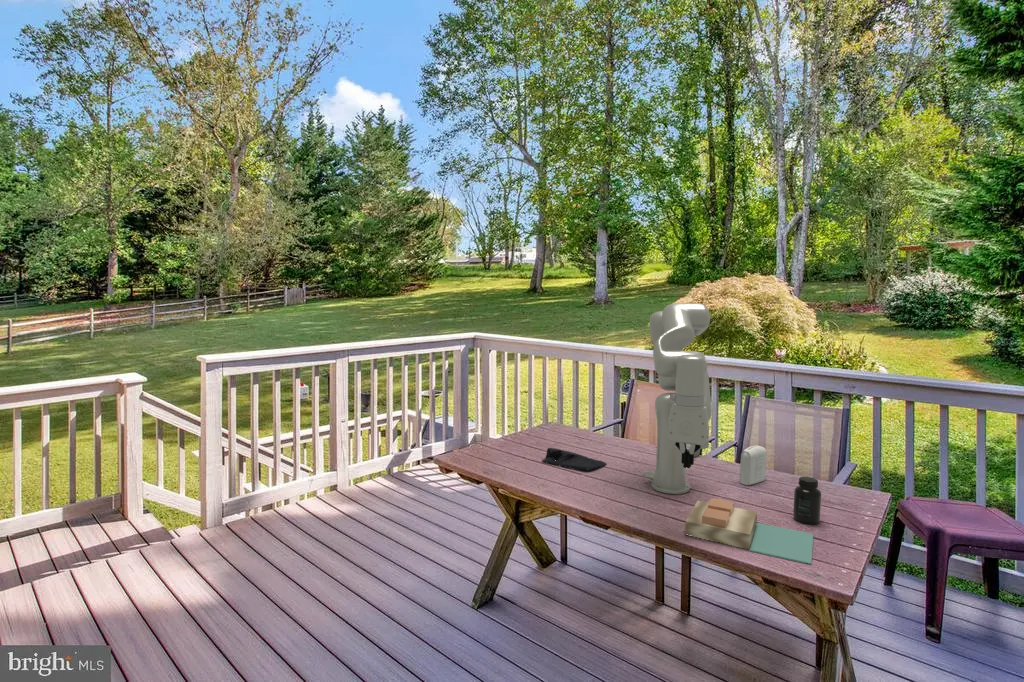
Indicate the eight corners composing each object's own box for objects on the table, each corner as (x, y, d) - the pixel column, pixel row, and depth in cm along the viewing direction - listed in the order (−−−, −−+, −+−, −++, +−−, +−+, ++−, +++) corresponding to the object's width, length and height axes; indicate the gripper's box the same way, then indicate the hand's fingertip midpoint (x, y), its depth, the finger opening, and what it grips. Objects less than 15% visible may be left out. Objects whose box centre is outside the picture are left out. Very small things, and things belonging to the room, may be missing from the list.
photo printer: (755, 476, 195) (757, 442, 194) (767, 480, 192) (769, 445, 190) (737, 482, 190) (739, 447, 188) (748, 486, 186) (750, 450, 185)
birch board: (685, 535, 151) (685, 521, 150) (697, 513, 165) (697, 500, 164) (749, 549, 143) (750, 534, 143) (756, 525, 157) (757, 511, 157)
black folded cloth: (585, 476, 197) (586, 463, 197) (538, 462, 212) (538, 450, 211) (610, 465, 208) (610, 453, 208) (563, 453, 223) (563, 441, 223)
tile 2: (701, 522, 149) (702, 515, 149) (706, 514, 155) (706, 507, 154) (725, 527, 146) (726, 520, 146) (729, 519, 152) (729, 512, 151)
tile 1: (707, 512, 156) (707, 505, 156) (711, 504, 162) (711, 497, 161) (730, 516, 153) (730, 509, 153) (733, 508, 159) (733, 501, 158)
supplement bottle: (825, 523, 158) (828, 482, 157) (805, 526, 156) (808, 484, 155) (806, 513, 165) (808, 474, 164) (787, 516, 163) (789, 476, 162)
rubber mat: (749, 551, 142) (749, 549, 142) (757, 524, 158) (757, 522, 158) (811, 564, 135) (811, 563, 135) (813, 535, 151) (813, 533, 151)
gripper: (658, 400, 152) (656, 466, 154) (716, 406, 145) (714, 475, 147) (664, 395, 158) (663, 459, 160) (720, 400, 151) (718, 467, 153)
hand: (687, 466), depth 153 cm, fingers closed
